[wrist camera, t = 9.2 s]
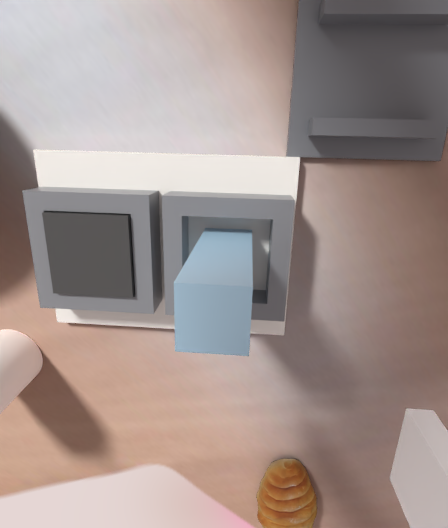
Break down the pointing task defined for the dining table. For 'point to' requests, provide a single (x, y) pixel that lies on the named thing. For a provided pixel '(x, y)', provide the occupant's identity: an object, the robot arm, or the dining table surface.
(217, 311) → the plug
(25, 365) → the candle
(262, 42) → the dining table surface
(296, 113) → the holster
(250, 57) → the dining table surface
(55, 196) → the port panel
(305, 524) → the pastry
